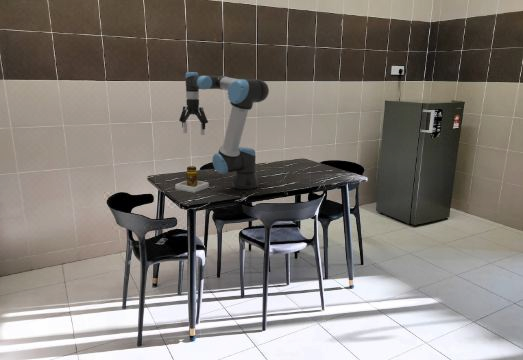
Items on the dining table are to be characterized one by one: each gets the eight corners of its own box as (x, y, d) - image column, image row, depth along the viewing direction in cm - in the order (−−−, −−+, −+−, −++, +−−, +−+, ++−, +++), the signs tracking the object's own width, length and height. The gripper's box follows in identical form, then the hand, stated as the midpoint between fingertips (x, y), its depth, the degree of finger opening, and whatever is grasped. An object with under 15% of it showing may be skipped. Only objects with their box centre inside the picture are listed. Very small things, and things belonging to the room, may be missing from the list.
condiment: (192, 189, 224) (191, 168, 221) (181, 187, 229) (180, 166, 226) (201, 186, 230) (200, 166, 227) (190, 184, 235) (189, 164, 232)
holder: (208, 187, 231) (208, 182, 230) (194, 192, 220) (194, 187, 219) (189, 184, 238) (189, 179, 237) (175, 189, 227) (175, 184, 226)
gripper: (213, 99, 235) (213, 134, 240) (180, 97, 246) (182, 131, 252) (205, 99, 228) (206, 136, 234) (172, 98, 240) (174, 133, 245)
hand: (193, 134), depth 243 cm, fingers open, 13 cm apart
